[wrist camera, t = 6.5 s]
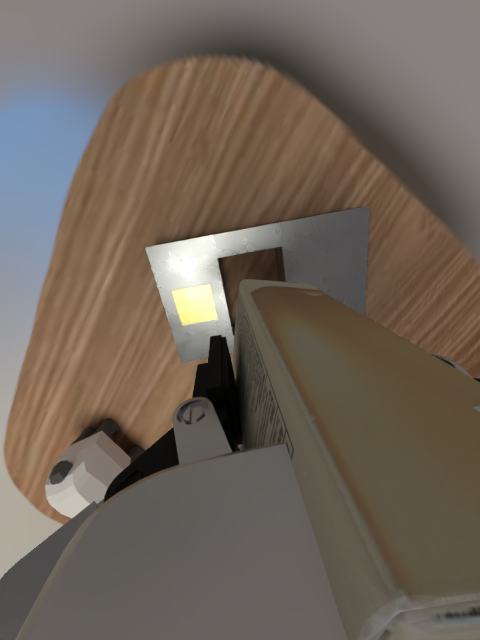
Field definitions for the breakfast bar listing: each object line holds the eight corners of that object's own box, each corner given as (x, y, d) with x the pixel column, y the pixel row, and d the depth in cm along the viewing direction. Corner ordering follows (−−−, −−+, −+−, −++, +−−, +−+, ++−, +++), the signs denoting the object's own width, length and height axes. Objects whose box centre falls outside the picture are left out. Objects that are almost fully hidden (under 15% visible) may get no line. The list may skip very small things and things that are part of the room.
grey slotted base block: (351, 208, 22) (370, 205, 20) (349, 318, 27) (364, 329, 24) (154, 245, 22) (144, 247, 20) (186, 348, 27) (181, 362, 24)
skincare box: (293, 371, 15) (495, 761, 4) (230, 369, 15) (264, 805, 4) (313, 278, 13) (916, 603, 2) (239, 272, 13) (412, 671, 1)
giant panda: (73, 426, 30) (11, 507, 21) (107, 410, 30) (58, 486, 21) (140, 486, 36) (112, 571, 27) (170, 473, 35) (151, 556, 26)
